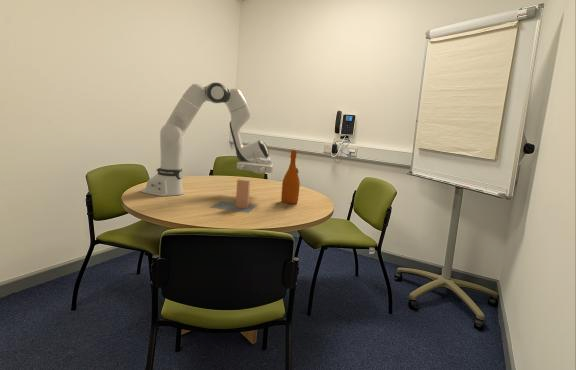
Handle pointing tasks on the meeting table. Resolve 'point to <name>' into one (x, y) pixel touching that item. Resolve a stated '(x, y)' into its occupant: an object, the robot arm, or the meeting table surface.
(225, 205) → the mat
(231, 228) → the meeting table surface
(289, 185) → the wine bottle
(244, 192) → the tile
